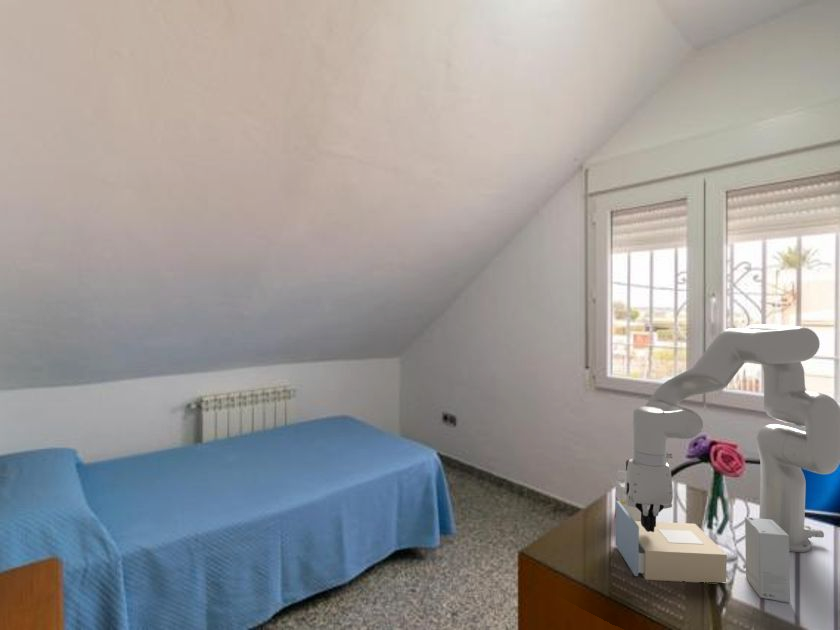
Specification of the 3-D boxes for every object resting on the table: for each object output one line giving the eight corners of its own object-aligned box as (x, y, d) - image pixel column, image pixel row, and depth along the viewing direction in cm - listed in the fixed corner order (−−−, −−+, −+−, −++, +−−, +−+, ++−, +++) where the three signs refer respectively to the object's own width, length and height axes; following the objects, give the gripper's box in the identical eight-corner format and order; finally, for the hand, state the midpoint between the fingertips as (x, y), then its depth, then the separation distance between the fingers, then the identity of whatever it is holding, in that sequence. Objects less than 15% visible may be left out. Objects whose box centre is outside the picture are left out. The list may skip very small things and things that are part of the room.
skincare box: (790, 604, 95) (792, 537, 95) (758, 598, 97) (759, 532, 96) (772, 580, 103) (774, 518, 103) (742, 575, 105) (744, 514, 104)
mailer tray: (684, 548, 116) (685, 503, 115) (712, 580, 102) (713, 530, 102) (615, 544, 117) (616, 500, 117) (634, 575, 104) (635, 526, 104)
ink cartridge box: (620, 526, 128) (620, 476, 127) (614, 517, 133) (615, 470, 132) (650, 527, 127) (651, 477, 126) (643, 519, 132) (644, 471, 131)
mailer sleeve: (694, 549, 116) (694, 523, 115) (726, 583, 102) (726, 554, 102) (623, 546, 118) (624, 520, 117) (645, 579, 104) (645, 550, 103)
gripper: (673, 452, 112) (672, 522, 113) (613, 451, 114) (612, 520, 114) (688, 464, 105) (687, 538, 105) (623, 461, 106) (622, 535, 107)
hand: (648, 528), depth 110 cm, fingers closed
